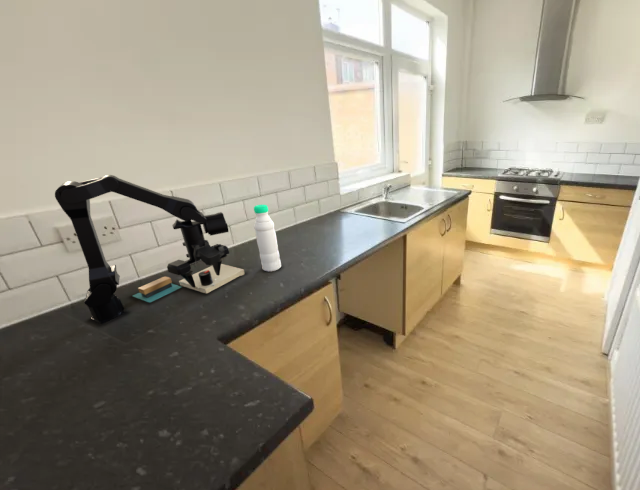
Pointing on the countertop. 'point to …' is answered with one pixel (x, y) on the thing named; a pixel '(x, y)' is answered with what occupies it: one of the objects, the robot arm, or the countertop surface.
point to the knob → (205, 278)
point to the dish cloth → (158, 295)
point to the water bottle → (266, 239)
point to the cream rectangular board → (214, 278)
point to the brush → (155, 287)
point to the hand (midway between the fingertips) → (206, 281)
